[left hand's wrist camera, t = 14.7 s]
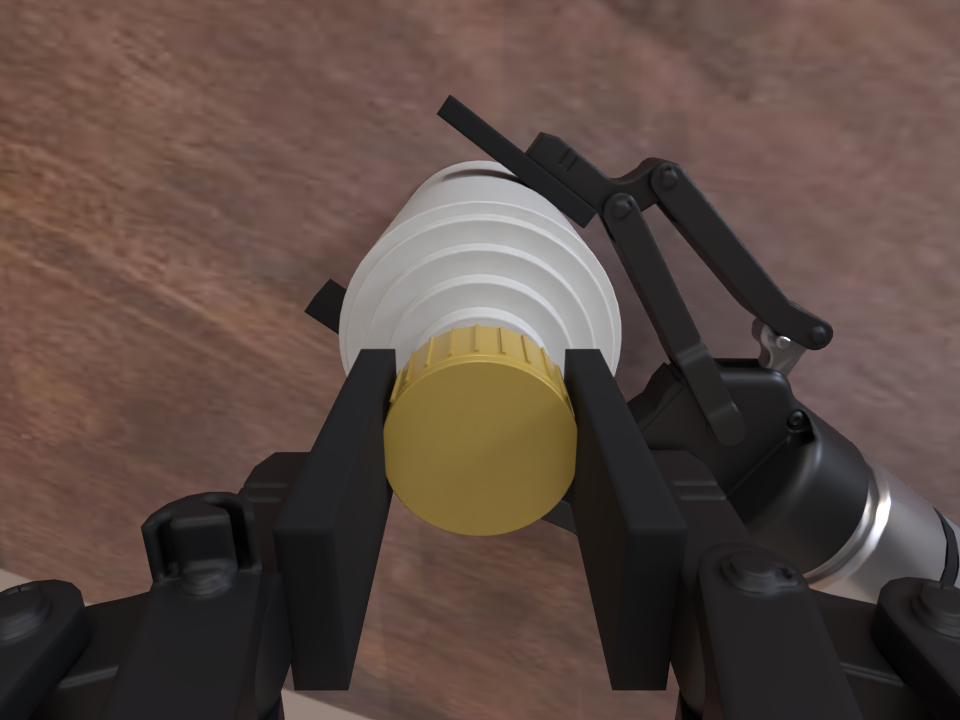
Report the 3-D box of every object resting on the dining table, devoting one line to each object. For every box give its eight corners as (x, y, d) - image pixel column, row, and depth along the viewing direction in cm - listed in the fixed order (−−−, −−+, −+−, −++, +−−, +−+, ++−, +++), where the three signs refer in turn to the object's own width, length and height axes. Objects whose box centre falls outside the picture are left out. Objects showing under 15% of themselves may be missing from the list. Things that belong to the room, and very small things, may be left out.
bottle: (441, 349, 33) (394, 642, 15) (367, 204, 31) (203, 347, 12) (587, 286, 32) (728, 521, 14) (523, 130, 29) (594, 167, 11)
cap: (597, 358, 14) (616, 399, 12) (528, 503, 15) (535, 561, 13) (425, 296, 14) (415, 328, 12) (369, 451, 15) (352, 504, 13)
